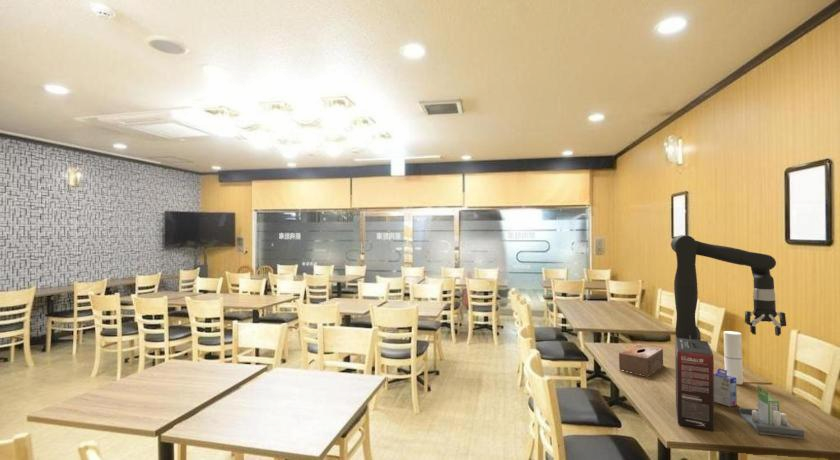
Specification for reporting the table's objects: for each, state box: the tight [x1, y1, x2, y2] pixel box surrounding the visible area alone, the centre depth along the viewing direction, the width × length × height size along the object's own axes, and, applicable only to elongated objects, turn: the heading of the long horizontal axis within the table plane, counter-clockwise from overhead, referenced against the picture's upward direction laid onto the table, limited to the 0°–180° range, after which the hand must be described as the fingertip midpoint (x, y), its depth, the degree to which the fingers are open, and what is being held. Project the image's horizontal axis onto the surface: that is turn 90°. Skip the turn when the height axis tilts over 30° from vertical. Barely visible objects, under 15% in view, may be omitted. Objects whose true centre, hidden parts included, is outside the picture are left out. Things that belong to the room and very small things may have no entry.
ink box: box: [756, 385, 780, 426], centre depth 159 cm, size 7×4×13 cm, turn 166°
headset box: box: [674, 335, 715, 432], centre depth 168 cm, size 24×13×33 cm, turn 149°
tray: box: [738, 406, 805, 440], centre depth 158 cm, size 14×17×8 cm
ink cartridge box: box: [714, 368, 738, 408], centre depth 181 cm, size 10×6×14 cm, turn 27°
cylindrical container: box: [723, 330, 744, 385], centre depth 206 cm, size 7×7×25 cm
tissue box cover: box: [618, 343, 664, 377], centre depth 229 cm, size 26×14×10 cm, turn 133°
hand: (765, 334), depth 180 cm, fingers open, 8 cm apart
